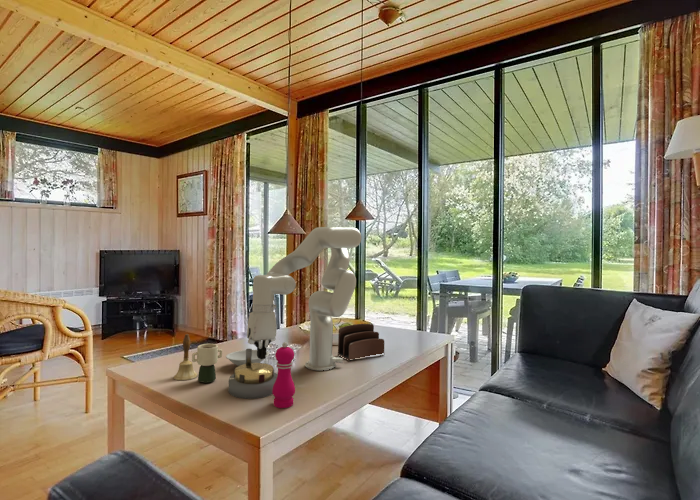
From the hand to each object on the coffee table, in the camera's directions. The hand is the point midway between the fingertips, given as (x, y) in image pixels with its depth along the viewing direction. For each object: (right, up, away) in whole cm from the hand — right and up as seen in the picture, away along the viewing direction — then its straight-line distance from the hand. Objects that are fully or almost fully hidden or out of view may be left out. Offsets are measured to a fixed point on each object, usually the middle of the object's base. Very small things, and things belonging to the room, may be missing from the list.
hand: (261, 358), depth 144 cm
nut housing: (-1, -9, -7) cm, 11 cm away
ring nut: (-1, -5, -7) cm, 9 cm away
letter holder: (+38, -10, +38) cm, 54 cm away
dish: (-10, -8, +17) cm, 21 cm away
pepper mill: (+11, -10, -19) cm, 24 cm away
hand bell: (-29, -8, +3) cm, 30 cm away
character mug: (-20, -8, -1) cm, 21 cm away
